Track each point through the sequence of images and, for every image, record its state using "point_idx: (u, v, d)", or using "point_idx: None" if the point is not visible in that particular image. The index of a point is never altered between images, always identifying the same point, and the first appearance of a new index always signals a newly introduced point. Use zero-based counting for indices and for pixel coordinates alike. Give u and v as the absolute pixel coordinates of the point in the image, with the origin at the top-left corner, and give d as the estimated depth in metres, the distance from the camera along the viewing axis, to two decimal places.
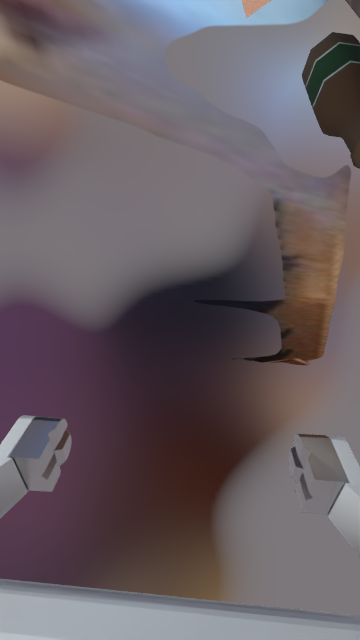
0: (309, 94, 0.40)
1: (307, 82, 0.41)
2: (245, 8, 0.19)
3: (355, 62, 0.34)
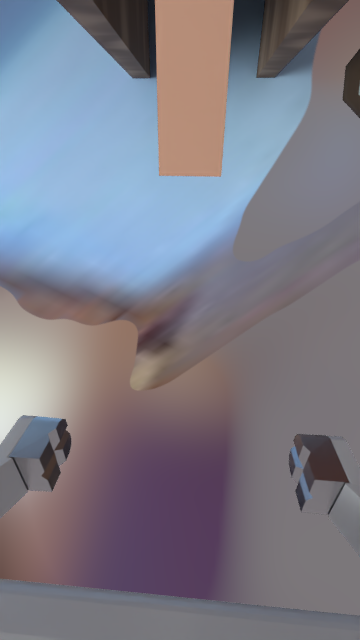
0: None
1: None
2: (210, 174, 0.12)
3: None
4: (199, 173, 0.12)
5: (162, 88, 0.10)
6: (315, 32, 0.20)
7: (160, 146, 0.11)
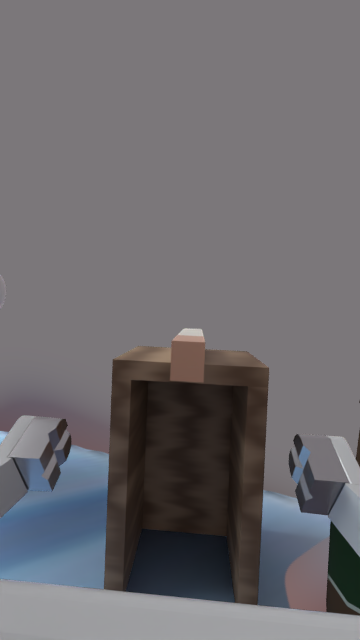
0: None
1: None
2: (199, 342, 0.21)
3: None
4: (193, 341, 0.21)
5: (176, 337, 0.24)
6: (261, 483, 0.29)
7: (173, 340, 0.22)
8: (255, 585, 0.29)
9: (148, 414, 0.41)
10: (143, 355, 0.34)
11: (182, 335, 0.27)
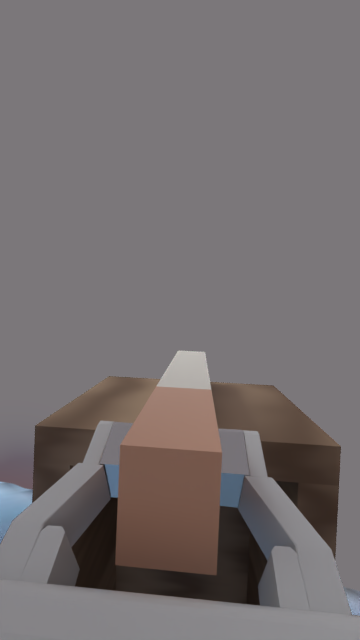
0: None
1: None
2: (203, 450, 0.07)
3: None
4: (186, 447, 0.07)
5: (147, 409, 0.10)
6: None
7: (132, 430, 0.08)
8: None
9: None
10: (103, 406, 0.19)
11: (166, 388, 0.13)
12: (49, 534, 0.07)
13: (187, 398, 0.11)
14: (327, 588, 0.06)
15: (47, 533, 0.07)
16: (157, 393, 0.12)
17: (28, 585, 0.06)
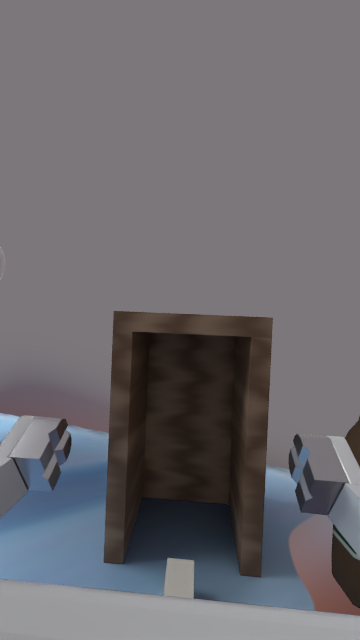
0: None
1: None
2: None
3: None
4: None
5: None
6: (265, 436, 0.29)
7: None
8: (259, 540, 0.29)
9: (149, 380, 0.40)
10: None
11: None
12: None
13: None
14: None
15: None
16: None
17: (28, 585, 0.06)
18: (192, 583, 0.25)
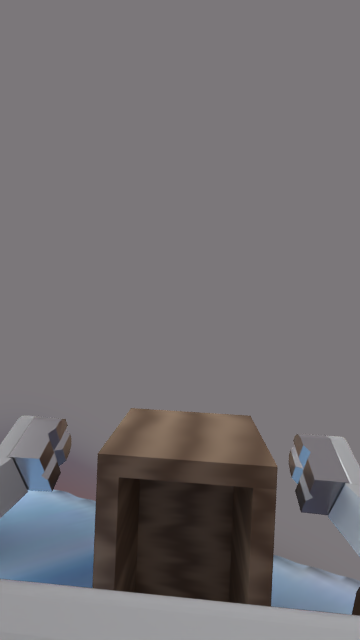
0: None
1: None
2: None
3: None
4: None
5: None
6: (269, 600, 0.25)
7: None
8: None
9: (141, 487, 0.37)
10: (134, 437, 0.30)
11: None
12: None
13: None
14: None
15: None
16: None
17: (28, 585, 0.06)
18: None
